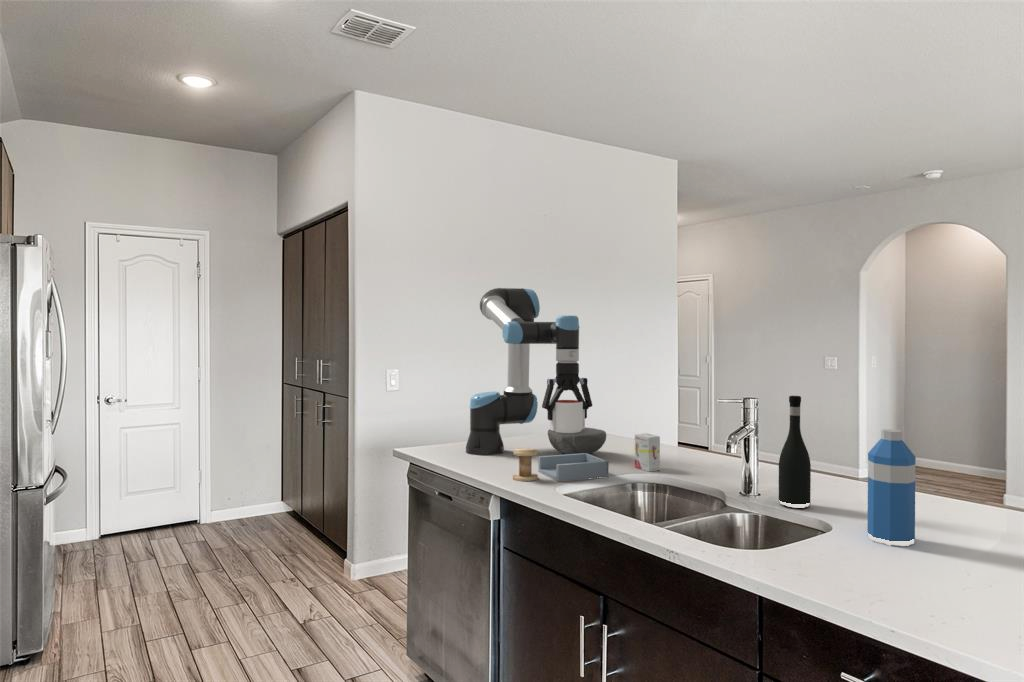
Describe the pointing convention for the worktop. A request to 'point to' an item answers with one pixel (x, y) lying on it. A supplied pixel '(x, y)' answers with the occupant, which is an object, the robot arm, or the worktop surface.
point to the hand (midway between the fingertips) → (567, 429)
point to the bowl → (578, 441)
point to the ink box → (647, 452)
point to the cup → (568, 416)
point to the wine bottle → (794, 462)
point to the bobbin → (525, 465)
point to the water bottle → (891, 488)
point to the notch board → (573, 467)
